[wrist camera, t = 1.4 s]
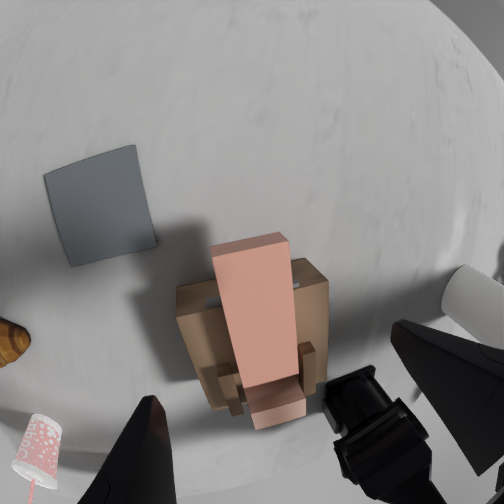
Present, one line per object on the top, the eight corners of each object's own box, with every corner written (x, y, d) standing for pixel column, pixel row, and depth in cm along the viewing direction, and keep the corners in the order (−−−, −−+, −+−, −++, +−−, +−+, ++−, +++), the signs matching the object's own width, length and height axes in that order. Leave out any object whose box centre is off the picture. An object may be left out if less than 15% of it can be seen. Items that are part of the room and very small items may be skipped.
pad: (135, 144, 16) (134, 144, 16) (157, 244, 19) (157, 246, 18) (47, 174, 15) (44, 174, 14) (72, 265, 18) (71, 267, 17)
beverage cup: (54, 413, 22) (34, 509, 9) (74, 439, 24) (63, 525, 12) (19, 406, 21) (-6, 491, 8) (40, 433, 23) (24, 511, 10)
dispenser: (305, 254, 21) (351, 299, 15) (309, 352, 25) (341, 403, 19) (175, 283, 20) (173, 344, 14) (207, 378, 24) (217, 439, 17)
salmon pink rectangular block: (279, 231, 16) (288, 240, 14) (291, 359, 20) (298, 373, 18) (209, 246, 15) (211, 257, 14) (239, 373, 19) (243, 388, 18)
